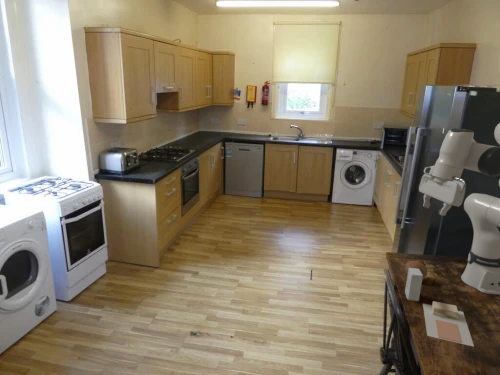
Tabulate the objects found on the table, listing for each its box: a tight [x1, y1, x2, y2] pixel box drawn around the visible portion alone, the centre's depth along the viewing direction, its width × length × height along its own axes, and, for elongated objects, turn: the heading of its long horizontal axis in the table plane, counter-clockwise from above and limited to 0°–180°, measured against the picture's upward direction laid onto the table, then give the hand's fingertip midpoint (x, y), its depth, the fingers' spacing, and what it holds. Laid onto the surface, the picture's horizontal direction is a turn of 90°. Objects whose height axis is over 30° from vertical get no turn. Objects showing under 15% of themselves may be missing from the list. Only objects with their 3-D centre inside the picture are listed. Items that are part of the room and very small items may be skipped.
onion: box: [403, 259, 428, 282], centre depth 157 cm, size 10×9×10 cm
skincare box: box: [404, 268, 423, 302], centre depth 143 cm, size 6×4×12 cm
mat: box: [422, 303, 475, 347], centre depth 128 cm, size 14×20×1 cm
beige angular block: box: [431, 300, 459, 320], centre depth 133 cm, size 8×4×3 cm, turn 69°
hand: (433, 211), depth 127 cm, fingers open, 8 cm apart
